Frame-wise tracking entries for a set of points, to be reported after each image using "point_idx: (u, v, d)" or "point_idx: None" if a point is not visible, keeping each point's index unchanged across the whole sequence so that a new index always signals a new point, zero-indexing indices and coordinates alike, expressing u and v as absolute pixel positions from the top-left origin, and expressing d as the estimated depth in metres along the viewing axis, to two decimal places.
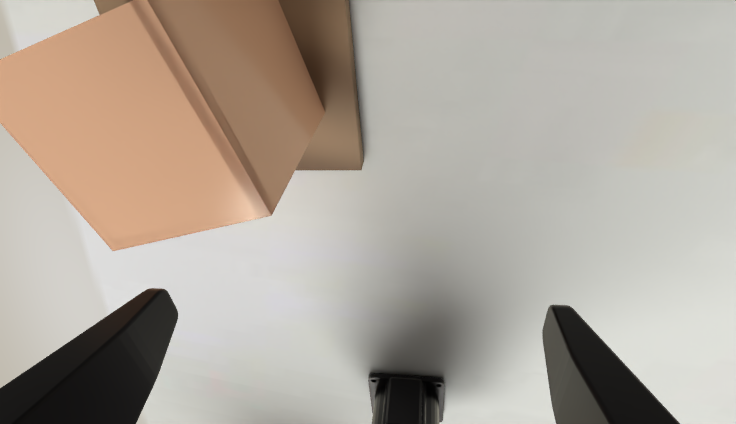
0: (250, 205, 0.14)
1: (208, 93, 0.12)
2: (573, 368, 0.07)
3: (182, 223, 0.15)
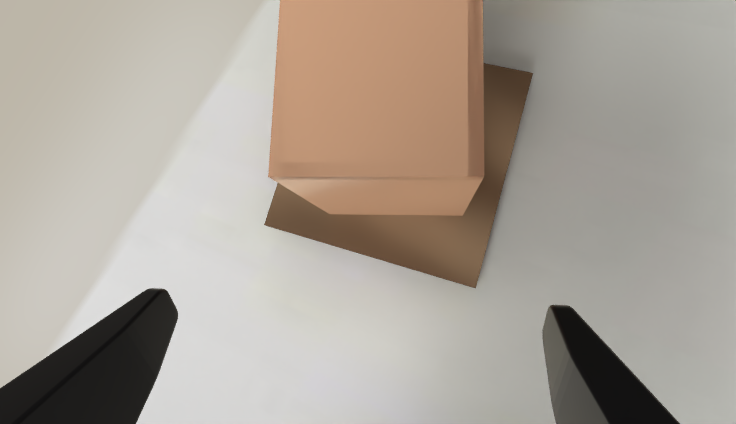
0: (468, 158, 0.14)
1: (481, 52, 0.14)
2: (573, 368, 0.07)
3: (377, 161, 0.14)
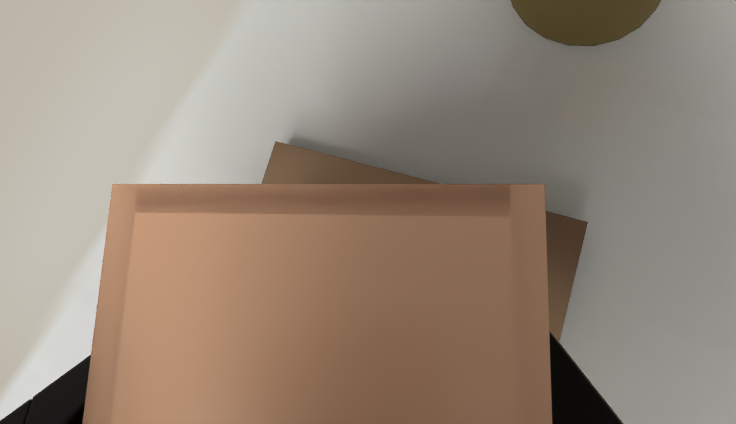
0: None
1: (544, 375, 0.06)
2: None
3: None
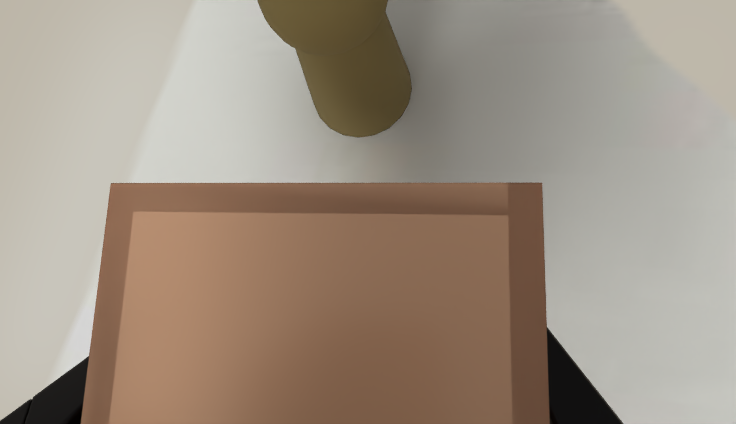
0: None
1: (541, 373, 0.06)
2: None
3: None
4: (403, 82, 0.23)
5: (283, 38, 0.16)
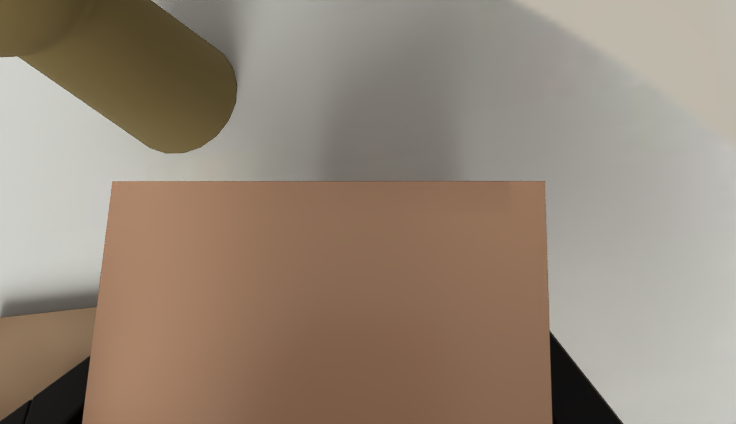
0: None
1: (544, 371, 0.06)
2: None
3: None
4: (210, 78, 0.19)
5: None
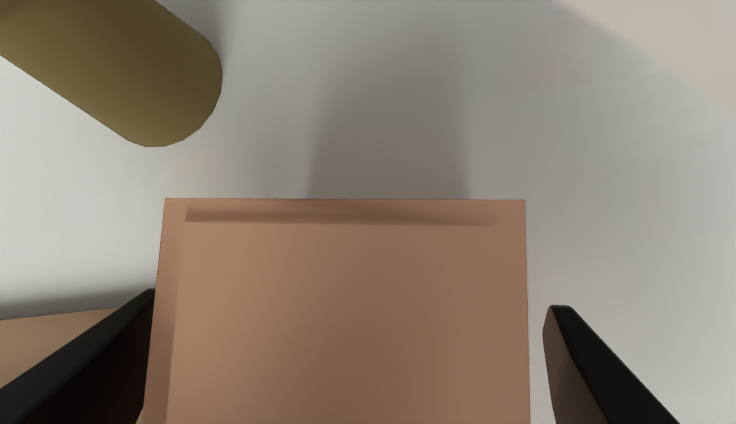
0: None
1: (524, 355, 0.08)
2: (573, 368, 0.07)
3: None
4: (192, 64, 0.17)
5: None
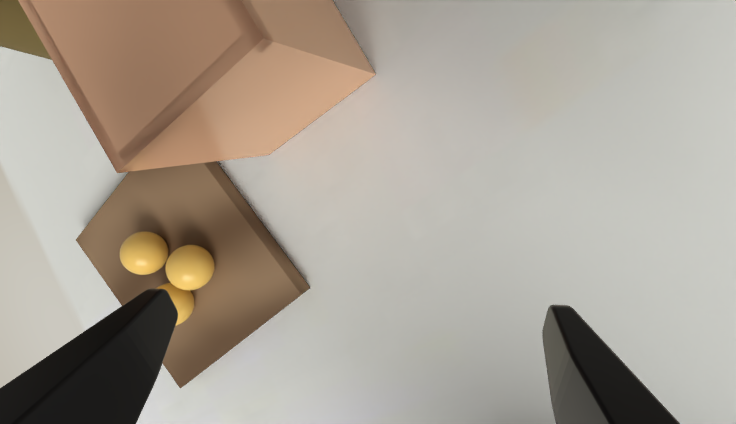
0: (240, 31, 0.12)
1: None
2: (573, 368, 0.07)
3: (176, 96, 0.13)
4: None
5: None
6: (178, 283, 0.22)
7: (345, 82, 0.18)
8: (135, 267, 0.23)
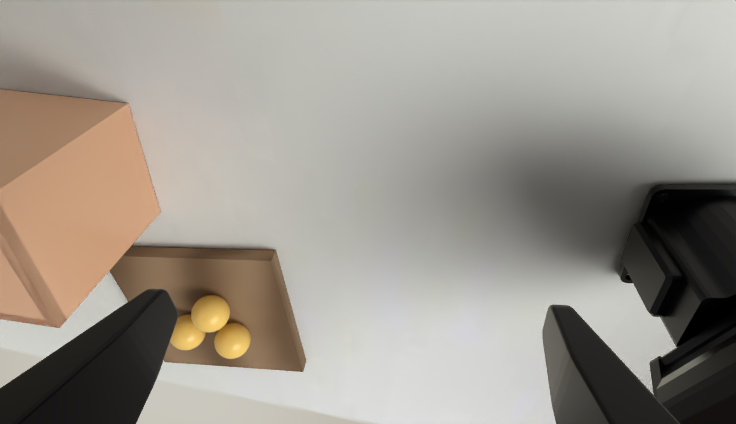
0: None
1: None
2: (573, 368, 0.07)
3: (12, 268, 0.17)
4: None
5: None
6: (211, 329, 0.28)
7: (112, 134, 0.21)
8: (188, 344, 0.29)
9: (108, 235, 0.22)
